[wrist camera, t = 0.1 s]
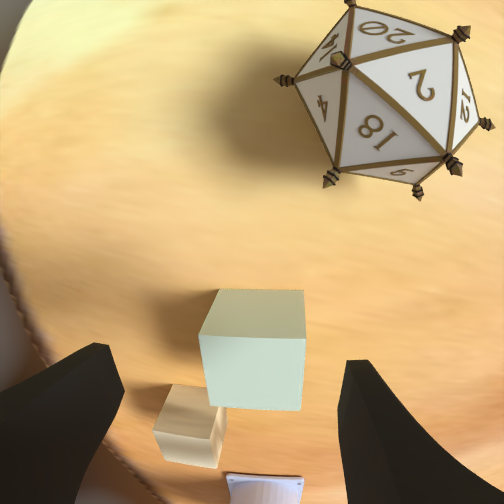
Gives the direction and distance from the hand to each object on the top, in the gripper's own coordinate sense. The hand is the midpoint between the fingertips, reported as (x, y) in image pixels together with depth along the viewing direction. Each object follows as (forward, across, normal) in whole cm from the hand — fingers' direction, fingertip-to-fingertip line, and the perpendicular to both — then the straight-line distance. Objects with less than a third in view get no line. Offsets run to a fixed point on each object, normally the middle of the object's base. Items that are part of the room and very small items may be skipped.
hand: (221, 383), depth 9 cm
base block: (+10, 0, +4) cm, 11 cm away
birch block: (+10, +5, +12) cm, 17 cm away
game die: (+10, -6, -9) cm, 15 cm away
